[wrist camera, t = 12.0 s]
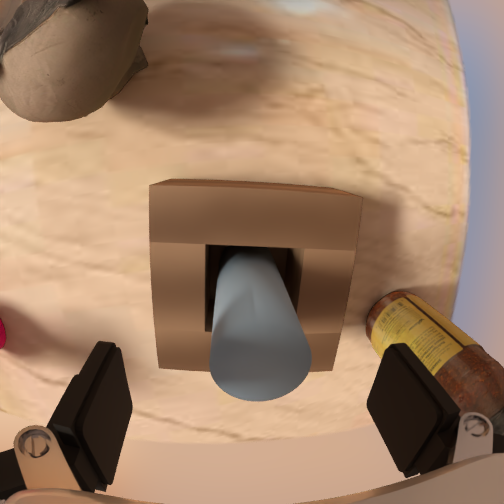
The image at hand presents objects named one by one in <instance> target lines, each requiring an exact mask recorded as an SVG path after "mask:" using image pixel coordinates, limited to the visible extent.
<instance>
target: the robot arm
mask: <svg viewBox="0 0 504 504" xmlns="http://www.w3.org/2000/svg"><path fill="white" fill-rule="evenodd" d="M24 1H26V0H0V37H1V35H2V33H3V31H4V29H5V27H6V26H7V25H8V23H9V22H10V20H11V19H12V17H13V15H14V14H15V12H16V10H17V8H18V7H19V6H20V5H21V4H22V3H23V2H24ZM132 407H133V406H132V400H131V396H130V391H129V387H128V383H127V378H126V373H125V368H124V363H123V358H122V353H121V349H120V348H119V347H116V345H115V343H112V342H103V341H98V342H97V344H96V345H95V347H94V349H93V350H92V352H91V354H90V356H89V357H88V359H87V361H86V362H85V364H84V366H83V368H82V369H81V371H80V373H79V375H78V374H77V375H75V376H74V377H73V378H72V380H71V382H70V384H69V385H68V387H67V389H66V391H65V393H64V394H63V396H62V398H61V400H60V402H59V404H58V405H57V407H56V409H55V411H54V413H53V415H52V417H51V419H50V421H49V423H48V425H47V426H46V427H43V426H38V425H33V426H28V427H26V428H24V429H22V430H21V431H19V432H18V434H17V435H16V437H15V440H14V448H13V449H10V450H7V451H4V452H1V453H0V504H162V503H153V502H145V501H138V500H131V499H125V498H120V497H114V496H108V495H103V494H97V493H94V492H95V489H96V490H100V491H104V492H106V488H107V484H108V485H111V484H112V483H113V480H114V476H115V472H116V467H117V464H118V460H119V456H120V453H121V449H122V445H123V441H124V438H125V435H126V431H127V428H128V424H129V421H130V417H131V414H132ZM367 409H368V411H369V413H370V415H371V417H372V419H373V420H374V422H375V424H376V426H377V428H378V430H379V432H380V434H381V436H382V438H383V440H384V442H385V444H386V446H387V448H388V450H389V452H390V454H391V456H392V458H393V460H394V462H395V464H396V466H397V468H398V470H399V471H400V472H403V473H404V476H405V477H406V478H408V477H411V476H414V475H417V474H418V473H420V475H419V476H416V477H414V478H410V479H407V480H404V481H401V482H398V483H394V484H391V485H387V486H384V487H380V488H376V489H372V490H368V491H364V492H360V493H355V494H350V495H346V496H341V497H335V498H330V499H324V500H318V501H311V502H304V503H295V504H504V436H503V435H500V434H496V433H493V426H492V424H491V422H490V420H489V419H488V418H487V417H485V416H484V415H482V414H480V413H476V412H469V413H466V414H464V415H463V416H462V417H460V416H459V413H460V411H461V409H460V408H459V407H458V406H457V404H456V403H455V402H454V401H453V399H452V398H451V397H450V396H449V394H448V393H447V392H446V391H445V389H444V388H443V387H442V386H441V384H440V383H439V382H438V381H437V380H436V378H435V377H434V376H433V375H432V373H431V372H430V371H429V370H428V369H427V367H426V366H425V365H424V364H423V363H422V361H421V360H420V359H419V358H418V357H417V356H416V354H415V353H414V352H413V351H412V350H411V349H410V347H409V346H408V345H407V344H406V343H395V344H390V345H389V347H388V348H386V349H385V351H384V354H383V357H382V360H381V363H380V366H379V369H378V372H377V375H376V378H375V380H374V383H373V386H372V389H371V391H370V394H369V397H368V399H367Z"/></svg>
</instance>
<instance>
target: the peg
mask: <svg viewBox="0 0 504 504" xmlns="http://www.w3.org/2000/svg"><path fill="white" fill-rule="evenodd" d="M311 362H312V353H311V349H310V346H309V344H308V341H307V339H306V337H305V334H304V332H303V329H302V327H301V324H300V322H299V319H298V317H297V314H296V312H295V310H294V307H293V305H292V302H291V300H290V297H289V295H288V293H287V290H286V288H285V285H284V283H283V280H282V278H281V276H280V273H279V271H278V268H277V266H276V264H275V261H274V259H273V256H272V254H271V252H270V250H269V249H268V248H267V247H258V246H235V245H228V246H227V247H226V248H225V249H224V251H223V252H222V254H221V257H220V261H219V270H218V279H217V288H216V298H215V307H214V317H213V328H212V338H211V349H210V360H209V367H210V372H211V375H212V377H213V380H214V381H215V382H216V384H217V385H218V386H219V387H220V388H221V389H222V390H223V391H224V392H226V393H228V394H229V395H231V396H233V397H236V398H239V399H242V400H247V401H267V400H272V399H276V398H279V397H282V396H284V395H286V394H288V393H290V392H291V391H293V390H294V389H295V388H297V387H298V386H299V385H300V384H301V383H302V382H303V381H304V379H305V378H306V376H307V375H308V372H309V370H310V367H311Z"/></svg>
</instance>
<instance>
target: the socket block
mask: <svg viewBox="0 0 504 504" xmlns="http://www.w3.org/2000/svg"><path fill="white" fill-rule="evenodd" d="M362 200H363V197H360V196H356V195H353V194H350V193H347V192H343V191H340V190H337V189H333V188H327V187H316V186H305V185H292V184H279V183H264V182H246V181H225V180H196V179H169V180H165V181H162V182H159V183H155V184H152V185H149V239H150V268H151V287H152V302H153V315H154V327H155V337H156V347H157V356H158V364H159V368H163V369H175V370H189V371H205V372H210V367H209V360H210V349H211V338H212V328H213V317H214V307H215V298H216V288H217V279H218V270H219V261H220V257H221V254H222V252H223V251H224V249H225V248H226V247H227V246H228V245H235V246H258V247H267V248H268V249H269V250H270V252H271V254H272V256H273V259H274V261H275V264H276V266H277V268H278V271H279V273H280V276H281V278H282V280H283V283H284V285H285V288H286V290H287V293H288V295H289V297H290V300H291V302H292V305H293V307H294V310H295V312H296V314H297V317H298V319H299V322H300V324H301V327H302V329H303V332H304V334H305V337H306V339H307V341H308V344H309V346H310V349H311V353H312V362H311V367H310V370H309V372H320V371H332V369H333V365H334V361H335V357H336V353H337V348H338V344H339V340H340V335H341V330H342V326H343V321H344V316H345V311H346V306H347V301H348V295H349V290H350V284H351V279H352V273H353V267H354V260H355V254H356V247H357V240H358V233H359V226H360V218H361V209H362Z"/></svg>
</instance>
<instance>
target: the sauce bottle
mask: <svg viewBox="0 0 504 504" xmlns="http://www.w3.org/2000/svg"><path fill="white" fill-rule="evenodd" d="M366 334H367V337H368V338H369V340H370V342H371V343H372V346H373V349H374V350H375V352H376V353H377V354H378V355H379V357H380V358H381V359H382V357H383V354H384V351H385V349H386V348H388V347H389V345H390V344H395V343H406V344H407V345H408V346H409V347H410V349H411V350H412V351H413V352H414V353H415V354H416V356H417V357H418V358H419V359H420V360H421V361H422V363H423V364H424V365H425V366H426V367H427V369H428V370H429V371H430V372H431V373H432V375H433V376H434V377H435V378H436V380H437V381H438V382H439V383H440V384H441V386H442V387H443V388H444V389H445V391H446V392H447V393H448V394H449V396H450V397H451V398H452V399H453V401H454V402H455V403H456V404H457V406H458V407H459V408H460V409H461V411H460V413H459V416H460V417H462V416H463V415H464V414H466V413H469V412H476V413H480V414H482V415H484V416H485V417H487V418H488V419H489V420H490V422H491V424H492V426H493V433H496V434H500V435H503V436H504V368H503V367H502V366H501V365H500V364H499V362H497V361H496V360H495V359H493V358H492V357H491V356H490V355H489V354H487V353H486V352H485V351H484V349H483V347H482V346H480V345H479V344H478V343H477V342H475V341H474V340H473V339H472V338H471V337H469V336H468V335H467V334H466V333H464V332H463V331H462V330H461V329H459V328H458V327H457V326H456V325H454V324H453V323H452V322H451V321H449V320H448V319H447V318H446V317H444V316H443V315H442V314H440V313H439V312H438V311H436V310H435V309H434V308H433V307H431V306H430V305H429V304H427V303H426V302H425V301H423V300H422V299H421V298H419V297H417V296H416V295H414V294H411V293H408V292H403V291H401V292H398V291H396V292H392V293H390V294H388V295H386V296H385V297H383V298H382V299H381V300H380V301H378V302H377V303H376V304H375V306H374V307H373V308H372V310H371V312H370V313H369V315H368V318H367V321H366Z"/></svg>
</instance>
